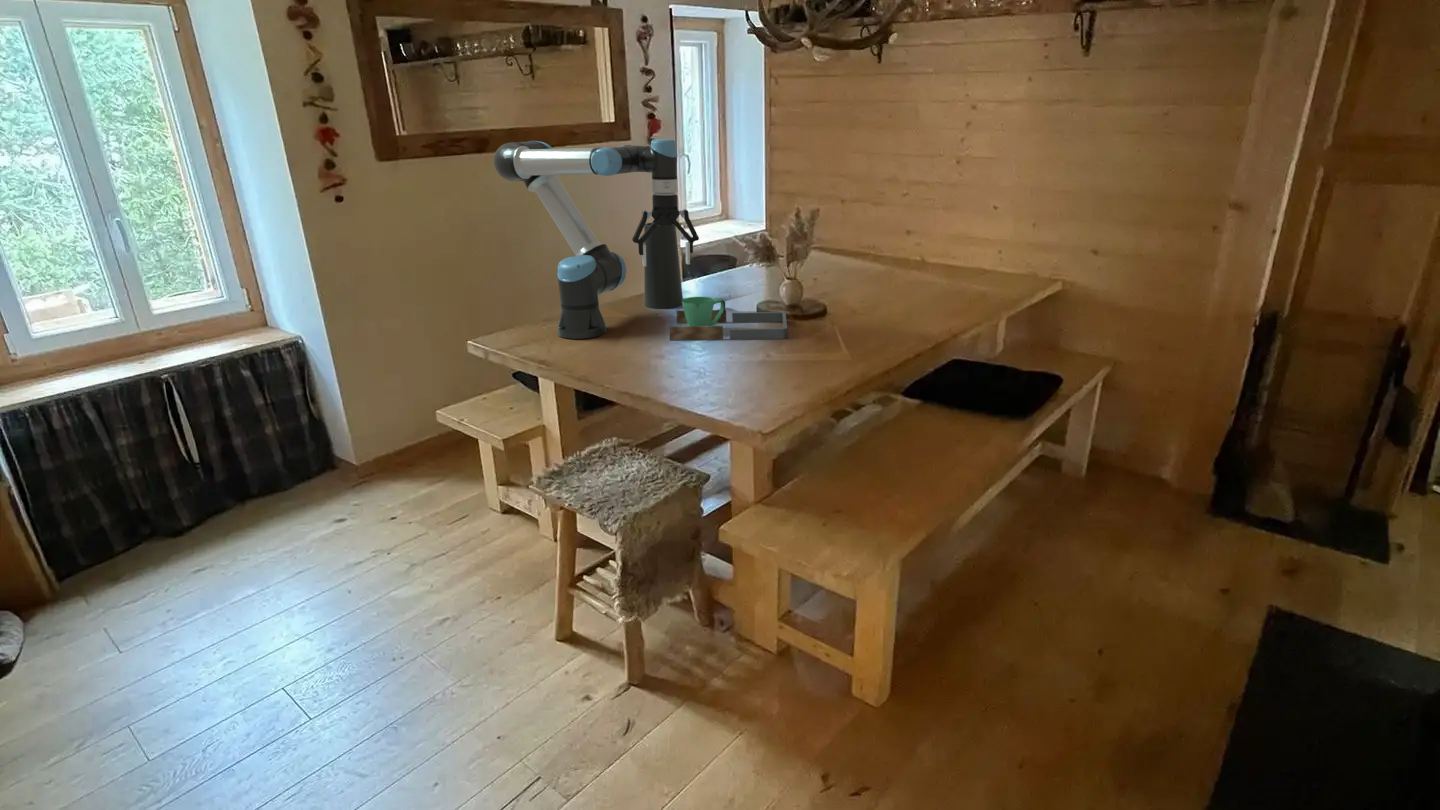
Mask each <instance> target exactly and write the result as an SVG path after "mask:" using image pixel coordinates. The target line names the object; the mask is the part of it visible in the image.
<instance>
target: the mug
mask: <svg viewBox="0 0 1440 810" xmlns="http://www.w3.org/2000/svg"><path fill="white" fill-rule="evenodd" d="M718 303H720V308H719V309H718V310H719V312H718V314H717V315H716V317H715V319H714V320H713V321H711V317H712V311H713V310H714V305H716V304H718ZM681 306H682V309H683V310H684V313H685V317H686V320H687V323H686V324H687V326H716V324H718V321H719V320H720V318H721V317H722V316H723V314H724V313H725V310H726V301H725V300H724V299H723V298H722V297H717V298H712V297H708V296H692V297H686V298H683V300H682V305H681ZM710 321H711V322H710Z"/></svg>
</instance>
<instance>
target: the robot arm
mask: <svg viewBox="0 0 1440 810" xmlns="http://www.w3.org/2000/svg"><path fill="white" fill-rule="evenodd" d="M677 149H678V148H677V142H676V141H675V140H674V139H671V138H669V139H668V138H667V139H665V138H664V139H661V138H658V139H657V138H655V139H652V140H651V142H650V145H647V146H646V145H631V144H625V145H618V146H613V147H609V146H607V147H576V148H575V147H573V148H571V147H570V148H569V147H568V148H567V147H566V148H553V147H552V146H551V145H549V144H548V143H546V142H543V141H538V140H529V141H518V142H514V141H512V142H507V143H504V144H502V145H500V146H499V147H498V148H497V149H496V151H495V153H494V156H493V166H494V168H495V171H496V172H497V174H498V175H499V176H500V177H501V178H503V179H504V180H507V181H509V182H521V181H522V182H523V184H524V185H525V186H526V188H527V190H528V192H532V193H536V195H537V197H538V199H539V200H540V201H541V203H542V205H543V206H544V208H545V209H546V211H547V212H548V214H549V216H550V217H551V219H552V220H553V222H554V224H555V225H556V226H557V228H558V229H559V231H560V233H561V235H562V236H563V238H564V239H565V241H566V242H567V244H568V245H569V247H570V248H571V251H572V252H573V253H574V256H569V257H565V258H563V259H562V260H561V261H559V262H558V265H557V273H556V274H557V279H558V287H559V288H558V290H559V298H560V299H559V300H560V309H561V310H560V311H561V312H560V316H559V320H558V323H557V324H558V325H557V335H558V336H559V337H561V338H564V339H572V340H576V339H580V340H581V339H582V340H583V339H590V338H595V337H600V336H602V335H604V334H606V333H607V323H606V321H605V319H604V316H603V314H602V312H601V309H600V303H599V295H601V294H604V293H607V292H612V291H614V290H615V289H617V288H619V287H620V286H621V285H622V284H623V283H624V281H625V279H626V274H627V267H626V262H625V261H624V259H623V258H622V256H621V255H620V254H618V253H616V252H613V251H611V250H610V249H609V247H608V246H607V244H606V243H605V242H601V241H598V239H597V237H596V235H595V234H594V233H593V231H592V229H591V228H590V226H589V225H588V222H587V221H586V219H585V218H584V217H583V215H582V213H581V212H580V211H579V209H578V207H577V205H576V204H575V203H574V201H573V199H572V198H571V196H570V194H569V193H568V191H567V190H566V188H565V186H564V185H563V183H562V182H561V180H560V176H596V175H597V176H598V175H599V176H602V177H603V176H604V177H608V176H609V177H610V176H611V177H612V176H614V175H620V174H630V173H651V186H652V187H651V190H652V193H653V194H652V196H651V198H652V210H651V211H648V210H642V211H641V218H640V221H639V223H638V225H637V227H636V230H635V232H634V234H633V236H632V239H631V240H632V242H633V243H634V244H638V245H637V246H638V255H640V256H641V259H642V260H641V261H642V263H641V264H642V266H643V267H644V266H646V245H645V244H644V242H645V241H646V239H647V238H648V237H649V235H650V234H651V233H652V232H653V230H654V229H655V228H656V227H657V226H658V225H660V226H665V225H668V226H671V225H673V224H674V225H675V226H676V229H677V230H678V231H679V232H680V233H681V234H682V235H683V237H685V239H686V240H687V241H685V264H686V265H691V254H693V252H694V243H695V242H697V241H699V240H700V236H699V235H698V232H697V231H696V229H695V227H694V225H693V223H692V220H691V219H690V216H689V211H688V210H687V209H686V208H684V209H682V210H679V207H678V206H679V205H678V204H679V202H678V200H679V199H678V198H679V197H678V195H677V193H678V150H677ZM679 216H681V217H682V218H683V220H684V222H685V224H686V225H687V227H688V230H689V232H690V234H691V236H690V235H689V233H688V231H686V229H685V228H684V227H683V226H682V225H681V223H679V222H678V220H677V219H678V218H679ZM650 217H652V218H653V220H652V222H650V223H651V225H650V226H649V227H648V229H647V230H646V231H645V233H642V232H643V230H644V225H645V224H646V223H647V221H648V219H649V218H650ZM641 233H642V235H641Z"/></svg>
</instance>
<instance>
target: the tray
mask: <svg viewBox="0 0 1440 810" xmlns="http://www.w3.org/2000/svg"><path fill="white" fill-rule="evenodd" d="M731 314H732V317H731V318H732V322H731V323H733V324H736V323H782V327H779V328H778V327H774V328H773V327H771V328H770V327H769V328H762V327H761V328H729V340H731V341H732V340H787V339H788V324H787V315H786V311H762V312H761V311H759V312H756V311H755V312H753V311H752V312H750V311H749V312H732V313H731Z"/></svg>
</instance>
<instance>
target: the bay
mask: <svg viewBox="0 0 1440 810" xmlns="http://www.w3.org/2000/svg"><path fill="white" fill-rule="evenodd" d="M719 310H720V309H713V311H712V317H711V321H713V320H714V319H715V317H716V315H717V314H718V312H719ZM675 313H676V324H688V323H687V320H686V317H685V313H684V309H683V310H676V311H675ZM711 321H710V322H711ZM718 323H719V324H721V323H723V324H724V323H725V324H726V323H727V309H725V313H724V314H723V316H722V317H721V318H720V320H719V321H718ZM718 323H717V324H718ZM668 334H669V341H713V340H715V341H719V340H720V341H724V325H713V326H688V325H685V326H684V325H683V326H682V325H679V326H677V325H676V326H675V325H674V326H669V327H668Z"/></svg>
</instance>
